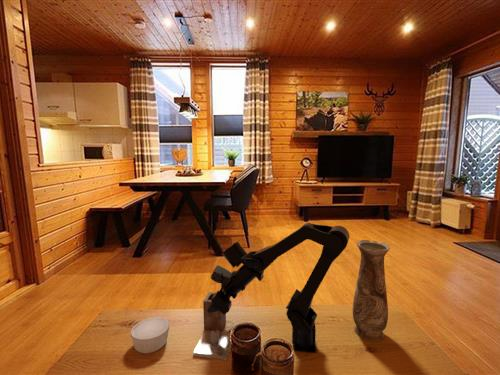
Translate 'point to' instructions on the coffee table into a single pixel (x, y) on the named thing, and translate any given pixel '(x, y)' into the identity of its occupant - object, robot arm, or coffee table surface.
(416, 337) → the coffee table surface
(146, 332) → the ramekin
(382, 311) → the vase
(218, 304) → the robot arm
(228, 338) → the glossy square coaster
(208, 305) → the square pencil cup
